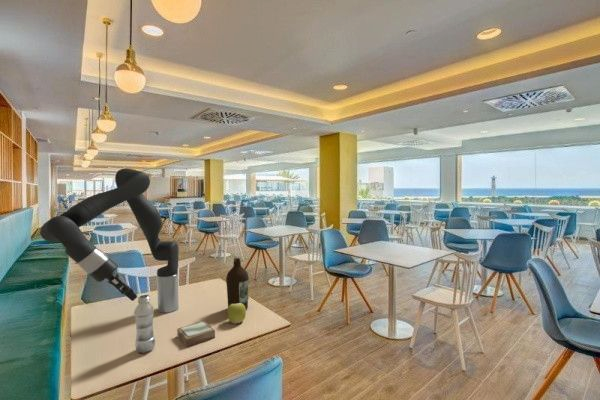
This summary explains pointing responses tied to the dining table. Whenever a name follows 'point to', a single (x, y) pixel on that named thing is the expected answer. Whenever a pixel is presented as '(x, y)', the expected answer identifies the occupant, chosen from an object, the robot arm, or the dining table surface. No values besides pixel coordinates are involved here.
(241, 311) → the apple
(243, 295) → the olive oil
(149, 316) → the plastic bottle
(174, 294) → the robot arm
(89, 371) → the dining table surface
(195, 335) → the walnut base
